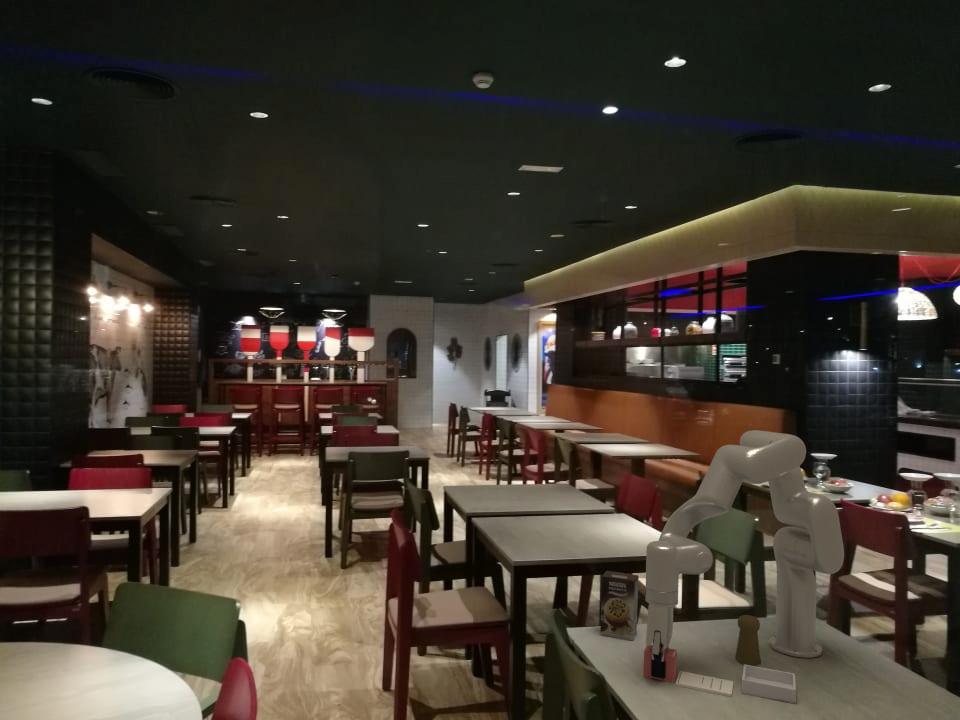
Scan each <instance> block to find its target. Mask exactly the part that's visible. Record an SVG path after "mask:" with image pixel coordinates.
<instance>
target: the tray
mask: <svg viewBox="0 0 960 720" xmlns="http://www.w3.org/2000/svg"><path fill="white" fill-rule="evenodd" d="M742 669H743V670H742V678H741V679H742V680H741V694H743V695H749V696H755V697H760V698H762V699H763V698H765V699H769V700H774V701H779V702H784V703H788V704H789V703H790V704H794V705H796V698H797V697H796V696H797V688H796V687H797V685H796V673H793V672H787V671H782V670H777V669H770V668H767V667H762V666H761V667H760V666H750V665H745V664H743V668H742Z"/></svg>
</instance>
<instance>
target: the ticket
mask: <svg viewBox="0 0 960 720" xmlns="http://www.w3.org/2000/svg"><path fill="white" fill-rule="evenodd" d="M677 675H678V676H677V679H676V681H675V686H676V687H680V688H685V689H690V690H691V689H692V690H695V691H701V692H705V693H709V694H710V693H711V694H715V695H719V696H720V695H721V696H724V697H730V698H732V696H733V691H734V690H733V689H734V681H733V680H728V679H724V678H719V677H718V678H717V677H713V676H708V675H703V674H697V673H692V672H687V671H683V670H680V671H679V673H678V674H677Z"/></svg>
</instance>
